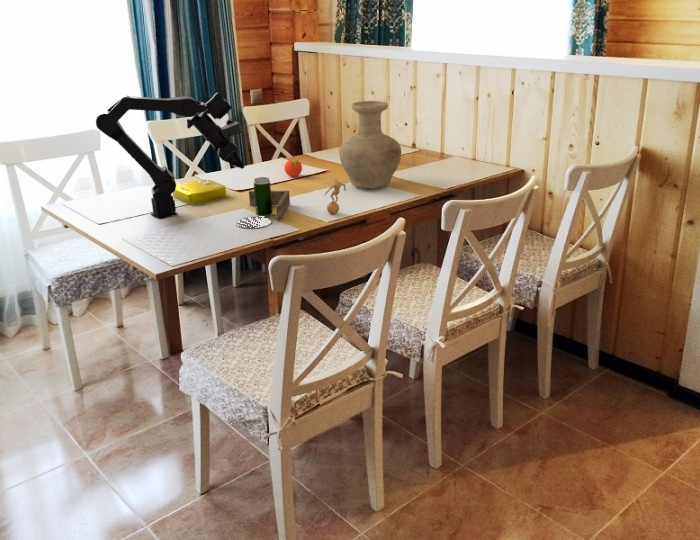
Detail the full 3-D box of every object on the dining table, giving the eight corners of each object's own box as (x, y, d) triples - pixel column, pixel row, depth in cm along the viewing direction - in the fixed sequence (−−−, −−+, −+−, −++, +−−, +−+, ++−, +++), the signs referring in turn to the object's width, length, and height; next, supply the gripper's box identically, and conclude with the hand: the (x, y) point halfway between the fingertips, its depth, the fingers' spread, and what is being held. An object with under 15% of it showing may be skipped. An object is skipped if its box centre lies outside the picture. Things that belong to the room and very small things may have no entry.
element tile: (171, 197, 247) (169, 184, 245) (208, 189, 256) (207, 177, 254) (191, 206, 237) (189, 193, 235) (229, 197, 245) (227, 184, 243)
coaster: (250, 231, 210) (250, 230, 210) (229, 223, 217) (229, 222, 217) (278, 222, 217) (278, 221, 217) (257, 215, 224) (257, 214, 224)
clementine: (305, 178, 266) (304, 160, 264) (288, 180, 264) (287, 162, 261) (299, 173, 273) (298, 155, 270) (282, 175, 271) (281, 157, 268)
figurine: (339, 209, 228) (338, 174, 223) (351, 214, 223) (350, 178, 219) (319, 215, 223) (317, 179, 218) (330, 219, 219) (329, 182, 214)
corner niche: (238, 221, 219) (237, 206, 217) (250, 204, 236) (249, 190, 234) (280, 221, 218) (279, 206, 216) (290, 204, 234) (289, 190, 233)
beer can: (260, 218, 221) (257, 182, 217) (253, 214, 225) (250, 178, 221) (275, 215, 224) (272, 179, 219) (268, 211, 228) (265, 176, 224)
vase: (391, 196, 240) (391, 109, 229) (331, 192, 247) (328, 107, 236) (407, 180, 260) (408, 99, 248) (351, 176, 267) (349, 97, 255)
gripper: (231, 117, 213) (264, 154, 220) (224, 108, 229) (255, 143, 236) (204, 141, 213) (238, 177, 220) (199, 130, 230) (231, 164, 237)
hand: (241, 164), depth 228 cm, fingers open, 9 cm apart
